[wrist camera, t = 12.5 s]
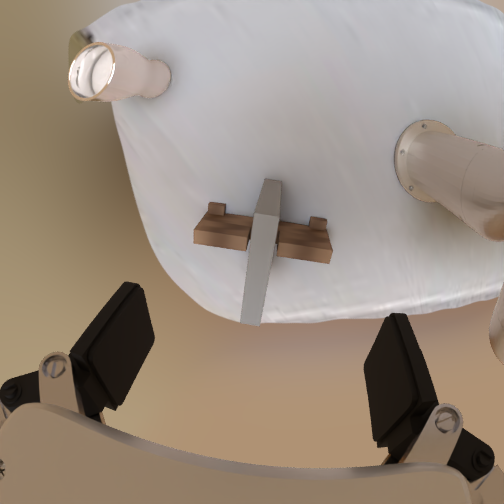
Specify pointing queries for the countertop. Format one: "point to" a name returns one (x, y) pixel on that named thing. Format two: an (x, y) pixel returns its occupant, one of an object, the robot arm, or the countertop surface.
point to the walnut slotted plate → (287, 239)
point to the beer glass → (115, 74)
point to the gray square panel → (261, 251)
